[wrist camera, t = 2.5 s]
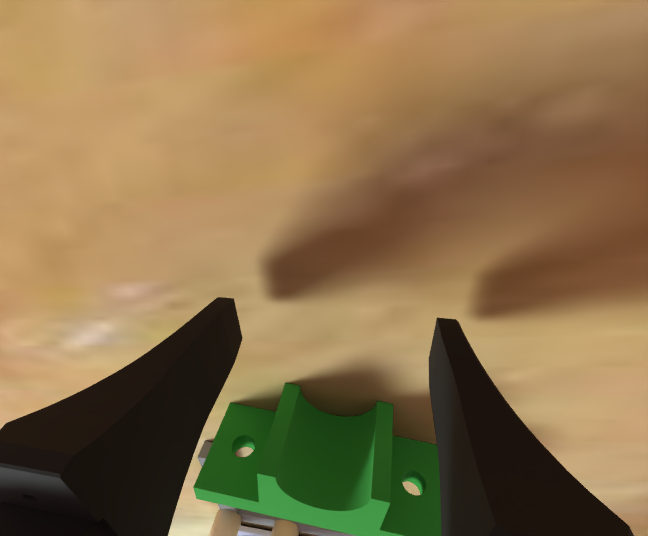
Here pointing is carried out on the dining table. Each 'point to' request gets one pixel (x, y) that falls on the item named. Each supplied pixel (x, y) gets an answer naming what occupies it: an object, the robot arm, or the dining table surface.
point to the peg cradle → (257, 517)
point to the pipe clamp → (324, 469)
